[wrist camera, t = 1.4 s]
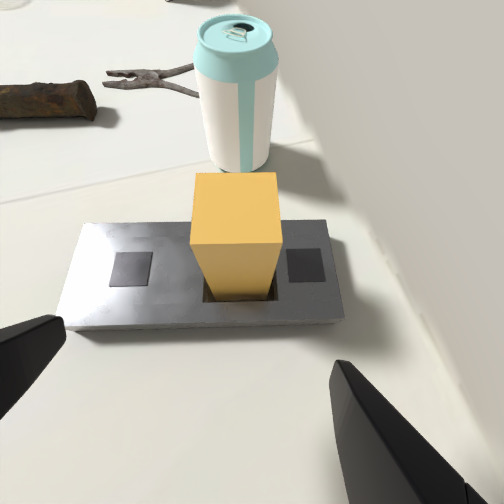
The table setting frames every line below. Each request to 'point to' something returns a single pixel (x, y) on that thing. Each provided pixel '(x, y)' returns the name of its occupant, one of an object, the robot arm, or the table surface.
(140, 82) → the pliers
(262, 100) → the can
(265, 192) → the amber peg
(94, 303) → the charcoal peg board
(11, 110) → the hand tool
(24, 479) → the table surface
